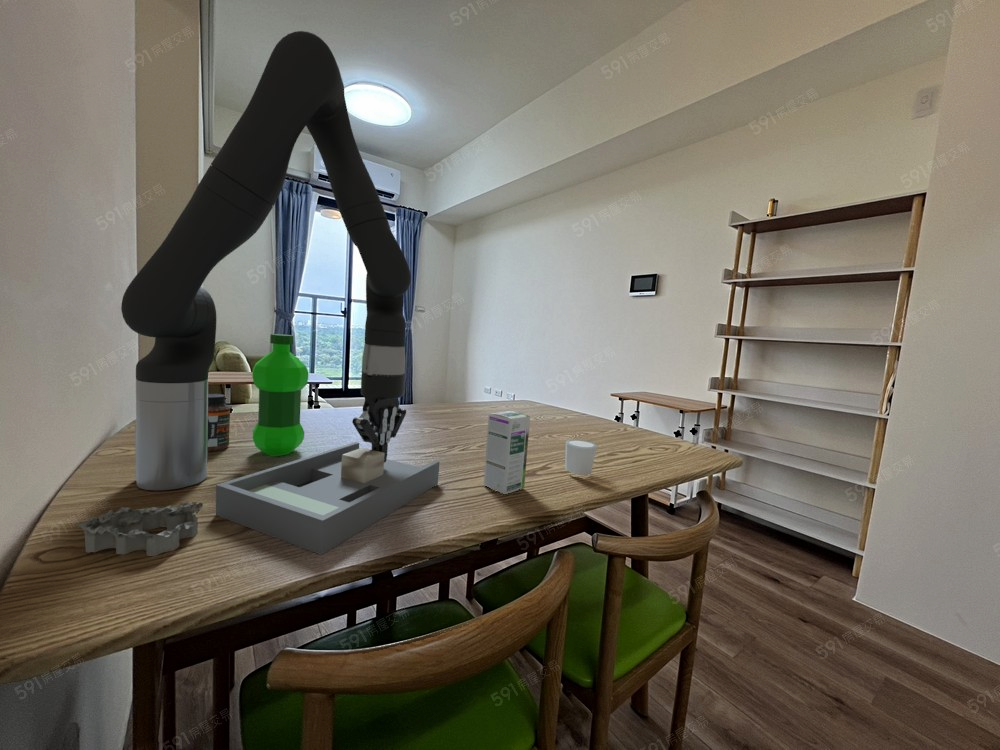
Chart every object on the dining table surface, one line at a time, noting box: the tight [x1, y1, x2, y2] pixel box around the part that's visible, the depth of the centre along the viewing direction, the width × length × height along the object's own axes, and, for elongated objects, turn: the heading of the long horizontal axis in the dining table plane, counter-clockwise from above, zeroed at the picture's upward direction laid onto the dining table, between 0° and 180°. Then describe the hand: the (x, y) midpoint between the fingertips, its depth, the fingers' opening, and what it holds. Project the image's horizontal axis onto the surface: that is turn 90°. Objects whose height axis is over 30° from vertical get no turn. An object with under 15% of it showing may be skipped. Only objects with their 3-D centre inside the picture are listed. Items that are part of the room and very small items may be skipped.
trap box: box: [215, 441, 440, 556], centre depth 67 cm, size 20×28×4 cm
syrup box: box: [483, 410, 531, 495], centre depth 77 cm, size 6×6×14 cm
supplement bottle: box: [207, 393, 231, 452], centre depth 85 cm, size 6×6×11 cm
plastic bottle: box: [251, 333, 309, 457], centre depth 85 cm, size 10×10×25 cm
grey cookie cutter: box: [75, 501, 204, 557], centre depth 50 cm, size 11×8×4 cm
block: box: [341, 447, 385, 483], centre depth 71 cm, size 5×5×4 cm
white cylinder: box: [564, 439, 598, 475], centre depth 89 cm, size 7×7×7 cm
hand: (378, 462), depth 75 cm, fingers closed
